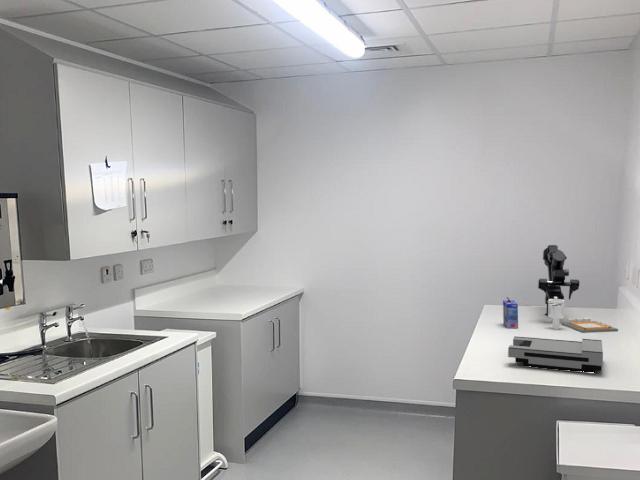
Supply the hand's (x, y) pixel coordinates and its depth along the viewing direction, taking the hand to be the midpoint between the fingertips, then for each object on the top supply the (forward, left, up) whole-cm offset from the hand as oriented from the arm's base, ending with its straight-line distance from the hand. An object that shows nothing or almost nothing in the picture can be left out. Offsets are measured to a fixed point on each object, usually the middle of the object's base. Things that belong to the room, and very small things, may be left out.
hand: (559, 298), depth 286 cm
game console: (+36, -61, -14) cm, 72 cm away
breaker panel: (+12, +6, -13) cm, 19 cm away
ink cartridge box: (-14, -20, -14) cm, 28 cm away
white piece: (+3, -8, -14) cm, 16 cm away
